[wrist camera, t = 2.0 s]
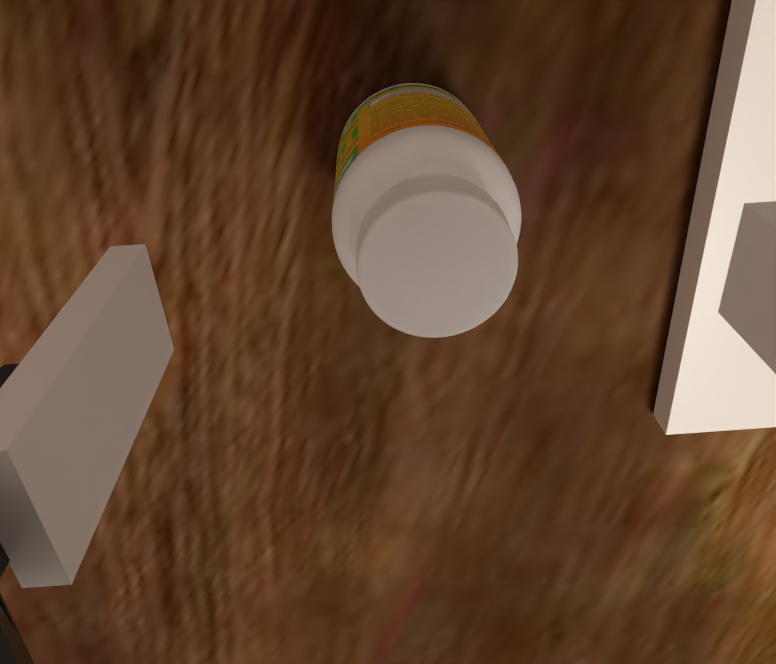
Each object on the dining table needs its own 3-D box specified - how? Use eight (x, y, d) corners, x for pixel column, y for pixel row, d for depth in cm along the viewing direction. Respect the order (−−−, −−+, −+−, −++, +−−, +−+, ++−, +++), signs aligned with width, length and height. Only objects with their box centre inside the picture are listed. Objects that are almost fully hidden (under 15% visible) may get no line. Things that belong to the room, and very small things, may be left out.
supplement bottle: (331, 84, 23) (315, 167, 15) (484, 75, 23) (557, 153, 15) (343, 229, 26) (336, 368, 17) (480, 221, 26) (539, 356, 17)
